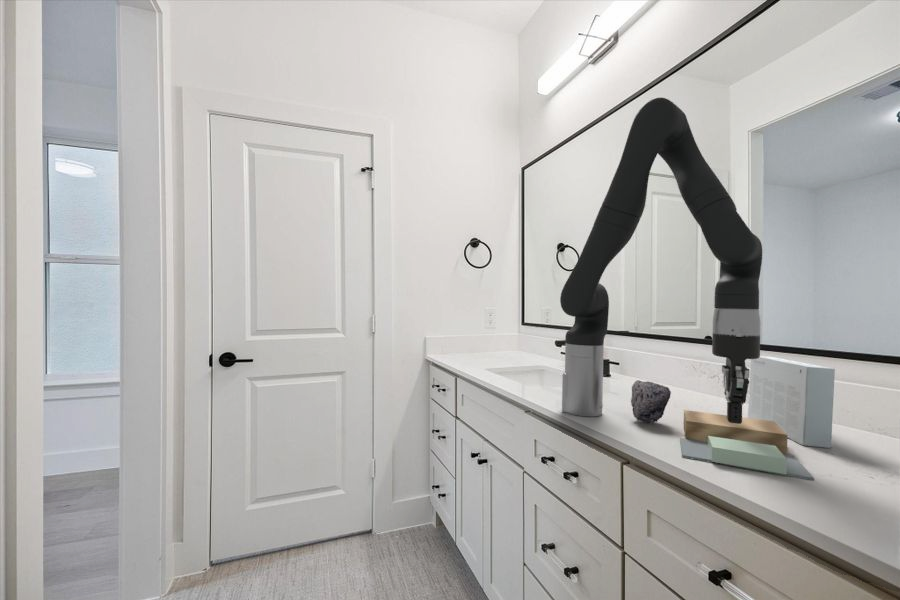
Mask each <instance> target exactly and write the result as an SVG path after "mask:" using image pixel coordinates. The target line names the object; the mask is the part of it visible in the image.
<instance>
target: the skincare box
mask: <svg viewBox="0 0 900 600" xmlns="http://www.w3.org/2000/svg"><path fill="white" fill-rule="evenodd" d="M835 373H836V369H835V368H832V367H827V366H823V365H822V366H821V365H818V364H817V365H816V364H814V363H813V364H812V363H807V362H801V361H797V360H791V359H787V358H786V359H785V358H780V357H775V356H767V355H766V356H763V355H760V357H759V358H758V359H750V371H749V386H748V389H749V390H748V395H749V398H748V408H747V409H748V410H747V418H751V419H759V420H767V421H774V422H775V423H776V424H777V425H778V426H779V427H780V428H781V429H782V430H783V431H784V432H785V433H786V434H787V439H790V440H791V441H794V442H795V443H797V444H799V445H802V446H805V447H816V448H817V447H818V448H827V449H831V448H832V438H833V437H832V435H833V434H832V433H833V432H832V431H833V413H834V395H835V394H834V392H835Z"/></svg>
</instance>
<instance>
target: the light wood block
mask: <svg viewBox="0 0 900 600" xmlns="http://www.w3.org/2000/svg"><path fill="white" fill-rule="evenodd" d="M683 432H684V438H685V439H691V440H698V441H704V442H708V436H713V437H720V438H726V439H733V440H740V441H747V442H753V443H760V444H767V445H774V446H776V447H777V448H778V449H779V450H780V452H781V453H782V454H787V455H788V438H787V434H786V433H785V432H784V431H783V430H782V429H781V428H780V427H779V426H778V425H777V424H776V423H775V422H774V421H767V420H759V419H751V418H748V417H743V416H742V423H741V424H737V423H730V422H729V421H728V420H727V414H718V413H711V412H702V411H695V410H694V411H693V410H688V409H687V410H686V409H683Z"/></svg>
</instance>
